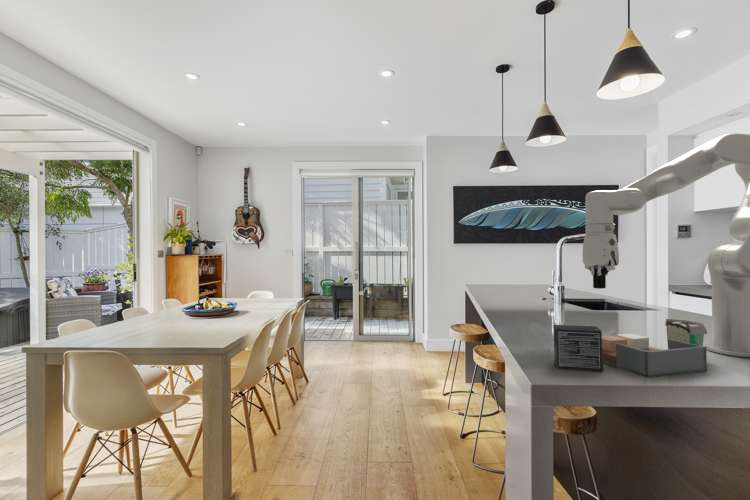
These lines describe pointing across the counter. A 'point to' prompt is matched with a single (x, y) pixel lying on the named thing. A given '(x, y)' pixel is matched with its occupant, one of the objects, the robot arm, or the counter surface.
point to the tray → (662, 359)
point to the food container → (685, 331)
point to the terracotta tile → (612, 342)
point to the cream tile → (635, 341)
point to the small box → (578, 348)
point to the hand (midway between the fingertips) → (599, 288)
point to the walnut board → (611, 356)
